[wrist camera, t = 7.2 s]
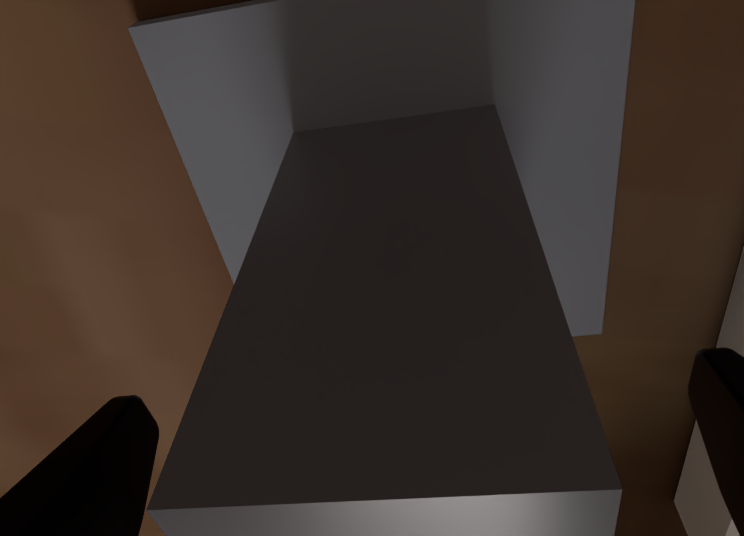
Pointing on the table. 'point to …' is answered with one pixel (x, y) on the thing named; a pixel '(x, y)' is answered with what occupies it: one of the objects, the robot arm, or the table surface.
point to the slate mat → (405, 103)
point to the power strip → (697, 481)
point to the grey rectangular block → (392, 355)
